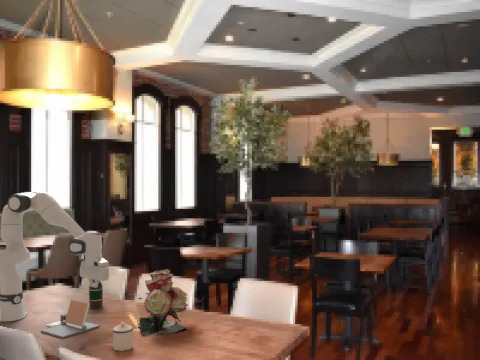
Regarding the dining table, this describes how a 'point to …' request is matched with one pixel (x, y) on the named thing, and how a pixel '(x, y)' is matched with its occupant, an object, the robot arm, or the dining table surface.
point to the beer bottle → (96, 295)
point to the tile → (77, 313)
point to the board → (69, 329)
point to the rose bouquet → (162, 304)
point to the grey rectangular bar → (63, 317)
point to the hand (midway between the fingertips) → (94, 287)
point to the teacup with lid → (122, 337)
